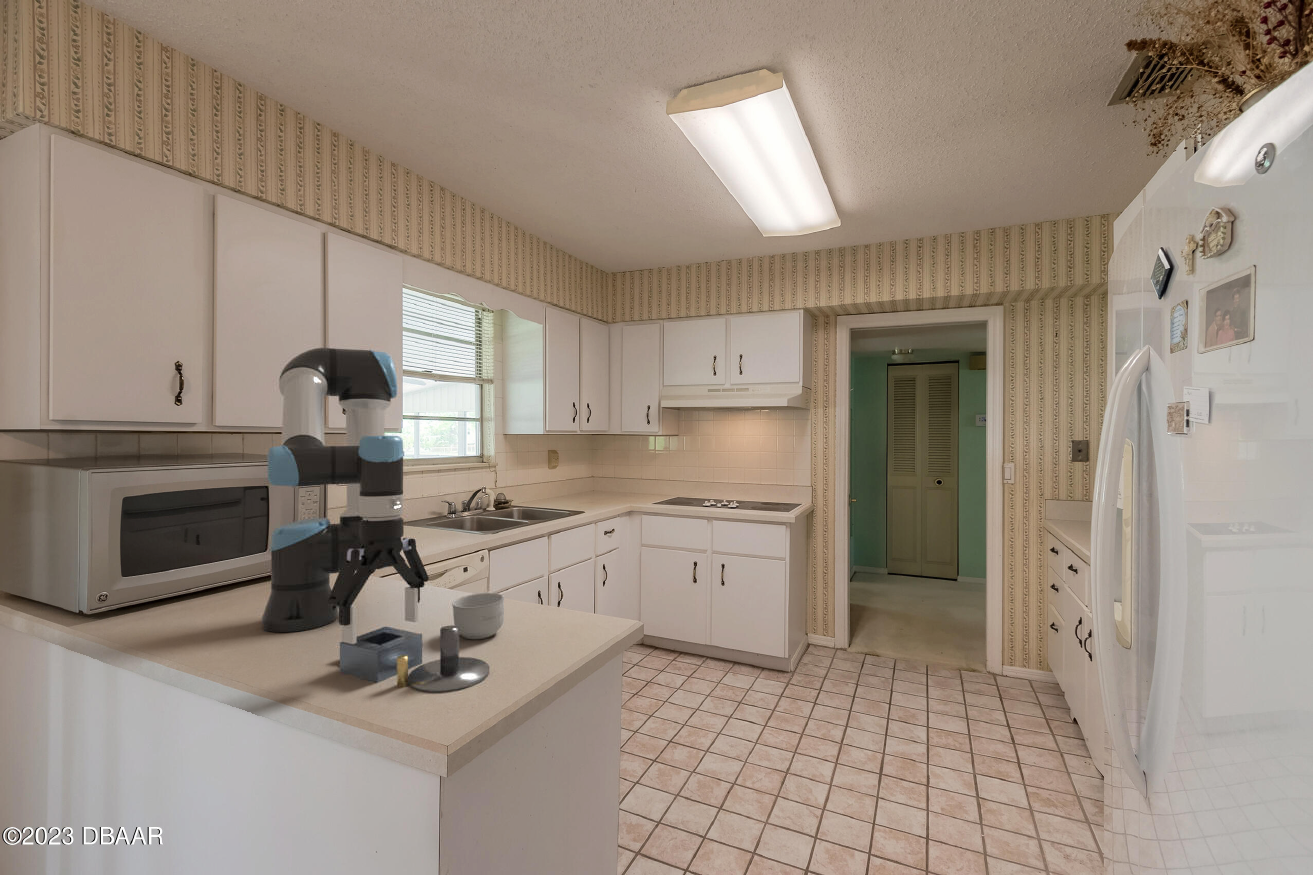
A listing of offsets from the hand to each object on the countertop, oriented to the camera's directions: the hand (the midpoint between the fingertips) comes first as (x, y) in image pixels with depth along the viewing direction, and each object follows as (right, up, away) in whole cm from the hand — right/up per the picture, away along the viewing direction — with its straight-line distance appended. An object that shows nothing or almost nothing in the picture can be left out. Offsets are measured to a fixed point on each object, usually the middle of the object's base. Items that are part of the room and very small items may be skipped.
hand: (382, 631), depth 111 cm
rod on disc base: (+14, -7, -3) cm, 16 cm away
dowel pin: (+7, -7, -7) cm, 12 cm away
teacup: (+13, -7, +20) cm, 25 cm away
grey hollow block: (-3, -7, +2) cm, 8 cm away
